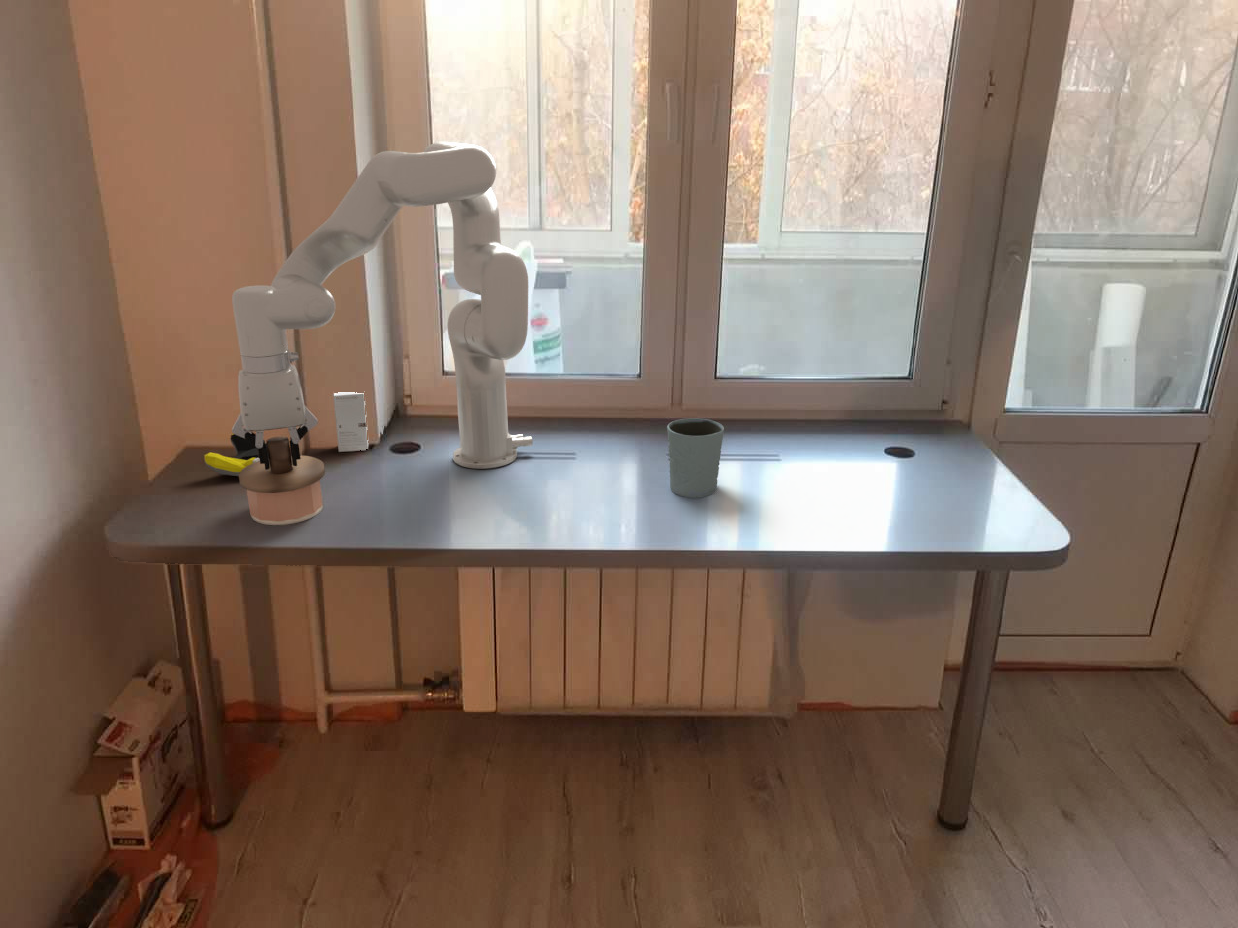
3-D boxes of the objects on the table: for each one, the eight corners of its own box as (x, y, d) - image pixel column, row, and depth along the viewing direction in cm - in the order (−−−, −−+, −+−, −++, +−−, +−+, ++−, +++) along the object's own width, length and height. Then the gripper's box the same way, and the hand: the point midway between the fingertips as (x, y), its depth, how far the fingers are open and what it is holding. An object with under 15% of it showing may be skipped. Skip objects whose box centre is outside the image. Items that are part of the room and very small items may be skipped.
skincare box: (338, 452, 196) (331, 395, 191) (339, 445, 200) (332, 389, 195) (369, 450, 197) (363, 393, 192) (370, 442, 201) (364, 387, 197)
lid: (322, 457, 175) (317, 422, 173) (327, 485, 163) (322, 448, 161) (240, 467, 171) (234, 432, 169) (239, 497, 159) (233, 460, 156)
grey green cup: (659, 494, 175) (660, 432, 171) (675, 474, 184) (676, 414, 180) (713, 502, 172) (715, 438, 168) (727, 481, 181) (730, 420, 177)
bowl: (320, 493, 177) (316, 462, 174) (325, 519, 166) (320, 487, 164) (251, 502, 173) (246, 471, 171) (251, 529, 162) (245, 496, 160)
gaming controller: (203, 483, 182) (255, 484, 181) (198, 456, 180) (250, 457, 179) (238, 454, 195) (286, 455, 195) (234, 428, 193) (282, 429, 193)
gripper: (317, 351, 165) (329, 451, 172) (212, 361, 160) (229, 463, 167) (320, 363, 159) (332, 466, 166) (211, 373, 154) (229, 479, 161)
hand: (281, 464), depth 166 cm, fingers open, 3 cm apart
